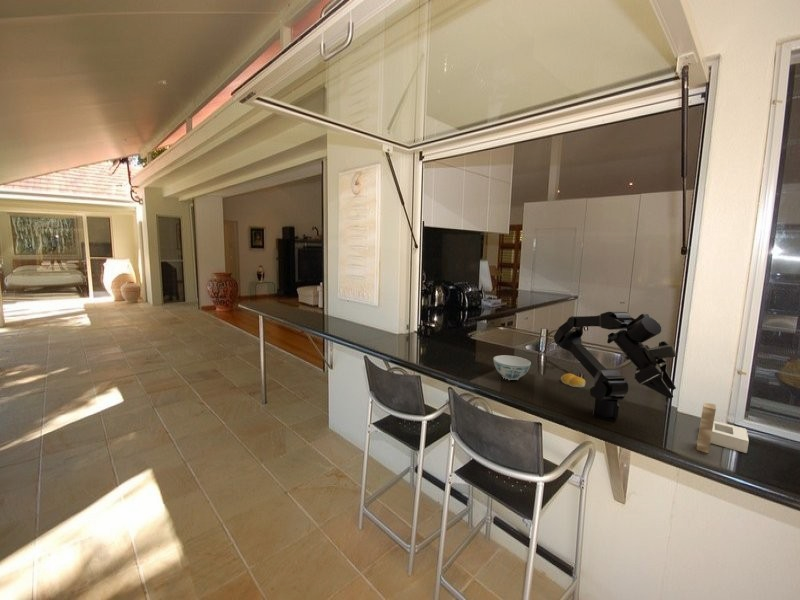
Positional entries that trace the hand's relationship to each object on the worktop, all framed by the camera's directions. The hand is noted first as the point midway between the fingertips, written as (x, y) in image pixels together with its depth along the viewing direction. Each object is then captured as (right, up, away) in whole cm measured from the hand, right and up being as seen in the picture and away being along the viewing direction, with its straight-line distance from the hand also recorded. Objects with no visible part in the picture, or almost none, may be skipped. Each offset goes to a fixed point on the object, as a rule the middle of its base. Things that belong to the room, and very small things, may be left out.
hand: (673, 393), depth 102 cm
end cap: (+16, -14, +2) cm, 21 cm away
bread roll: (-7, -8, +45) cm, 46 cm away
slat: (+6, -14, -3) cm, 16 cm away
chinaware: (-32, -6, +48) cm, 58 cm away
